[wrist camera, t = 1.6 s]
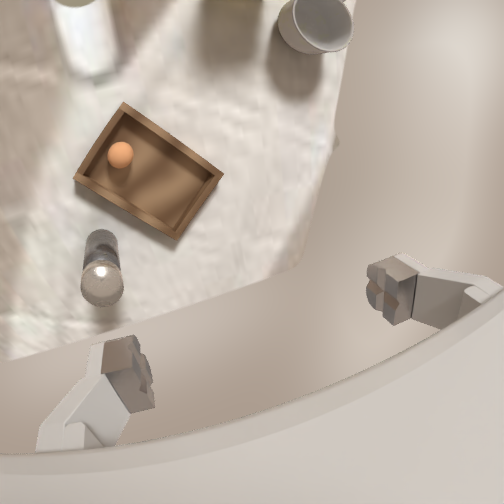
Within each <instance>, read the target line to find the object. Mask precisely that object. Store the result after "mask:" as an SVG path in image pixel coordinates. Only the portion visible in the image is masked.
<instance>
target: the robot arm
mask: <svg viewBox="0 0 504 504" xmlns="http://www.w3.org/2000/svg"><path fill="white" fill-rule="evenodd" d="M367 277H368V278H369V279H370V281H369V283H368V285H367V287H366V294H367V298H368V301H369V303H370V304H371V306H372V307H373V308H374V309H375V310H378V311H382V312H383V317H384V318H385V319H386V320H387V321H389V322H390V323H391V324H392V325H393V326H394V325H397V324H399V323H401V322H404V321H406V320H408V319H410V318H412V319H413V320H416V321H419V322H421V323H424V324H427V325H430V326H433V327H436V328H438V329H441V330H440V331H438V332H437V333H435V334H433V335H431V336H430V337H428V338H426V339H424V340H423V341H421V342H419V343H417V344H415V345H414V346H411V347H410V348H408V349H406V350H404V351H402V352H400V353H398V354H396V355H394V356H392V357H390V358H388V359H386V360H384V361H382V362H380V363H378V364H376V365H374V366H372V367H370V368H368V369H366V370H363V371H361V372H359V373H357V374H355V375H352V376H350V377H348V378H346V379H343V380H341V381H339V382H336V383H334V384H332V385H329V386H327V387H325V388H322V389H320V390H317V391H315V392H312V393H310V394H307V395H305V396H302V397H300V398H297V399H294V400H291V401H289V402H286V403H283V404H281V405H277V406H275V407H272V408H269V409H266V410H263V411H260V412H257V413H254V414H250V415H247V416H244V417H241V418H238V419H234V420H231V421H228V422H224V423H220V424H217V425H213V426H209V427H206V428H202V429H198V430H194V431H190V432H185V433H181V434H177V435H173V436H168V437H163V438H158V439H153V440H148V441H142V442H137V443H131V444H125V445H119V446H115V444H116V442H117V440H118V438H119V436H120V435H121V433H122V431H123V429H124V427H125V425H126V423H127V421H128V419H129V417H130V414H131V413H135V412H139V411H144V410H148V409H152V408H155V403H154V393H153V390H152V389H151V387H150V386H151V384H152V383H153V380H152V374H151V369H150V366H149V363H148V361H147V359H146V356H145V355H144V354H142V353H140V344H139V342H138V339H137V337H136V336H135V335H131V336H126V337H122V338H118V339H113V340H109V341H106V342H105V341H104V342H100V343H96V344H92V345H91V347H90V351H89V356H88V361H87V367H86V373H85V378H81V379H80V380H79V381H78V382H77V384H76V385H75V386H74V387H73V388H72V389H71V390H70V392H69V393H68V394H67V395H66V396H65V397H64V398H63V400H62V401H61V402H60V403H59V404H58V405H57V407H56V408H55V409H54V410H53V411H52V412H51V413H50V415H49V416H48V417H47V418H46V419H45V420H44V422H43V423H42V424H41V425H40V428H39V433H38V439H37V445H36V451H35V453H34V454H33V453H32V454H0V504H504V287H503V286H501V285H499V284H498V283H496V282H495V281H493V280H491V279H490V278H488V277H486V276H481V275H475V274H468V273H463V272H457V271H451V270H444V269H438V268H431V269H430V268H428V267H427V266H425V265H423V264H422V263H420V262H418V261H416V260H415V259H413V258H412V257H410V256H408V255H407V254H405V253H398V254H396V255H394V256H391V257H389V258H387V259H384V260H381V261H379V262H376V263H373V264H370V265H368V268H367Z"/></svg>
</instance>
